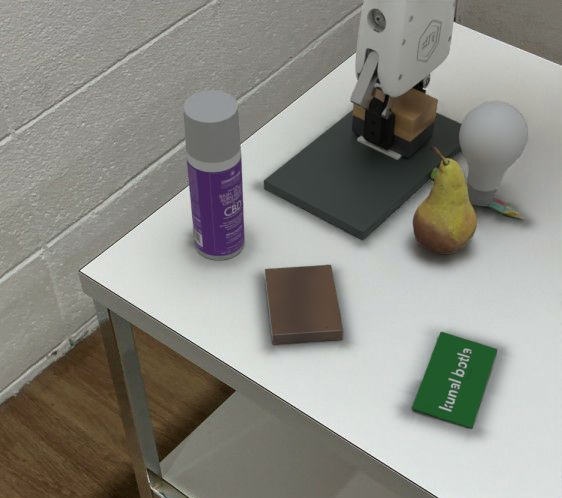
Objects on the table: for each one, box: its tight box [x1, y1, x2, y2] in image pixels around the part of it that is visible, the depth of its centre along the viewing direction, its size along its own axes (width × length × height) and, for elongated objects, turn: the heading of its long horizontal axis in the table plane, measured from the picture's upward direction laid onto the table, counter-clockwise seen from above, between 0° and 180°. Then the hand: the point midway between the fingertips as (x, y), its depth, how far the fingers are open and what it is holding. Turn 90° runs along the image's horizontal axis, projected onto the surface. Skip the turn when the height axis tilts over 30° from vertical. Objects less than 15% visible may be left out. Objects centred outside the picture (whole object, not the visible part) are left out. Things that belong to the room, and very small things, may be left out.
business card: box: [411, 331, 498, 429], centre depth 78 cm, size 9×1×5 cm
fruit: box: [412, 146, 478, 255], centre depth 83 cm, size 6×6×12 cm
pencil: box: [430, 168, 525, 220], centre depth 93 cm, size 1×1×18 cm
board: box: [263, 109, 462, 241], centre depth 95 cm, size 20×12×1 cm, turn 141°
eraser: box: [352, 77, 439, 158], centre depth 95 cm, size 4×7×4 cm, turn 51°
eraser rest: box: [264, 264, 344, 345], centre depth 82 cm, size 6×8×1 cm
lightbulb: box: [459, 100, 529, 207], centre depth 87 cm, size 6×6×11 cm
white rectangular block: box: [357, 136, 402, 160], centre depth 96 cm, size 2×5×1 cm, turn 51°
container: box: [182, 89, 246, 261], centre depth 82 cm, size 5×5×15 cm
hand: (392, 129), depth 96 cm, fingers closed on eraser, 4 cm apart
